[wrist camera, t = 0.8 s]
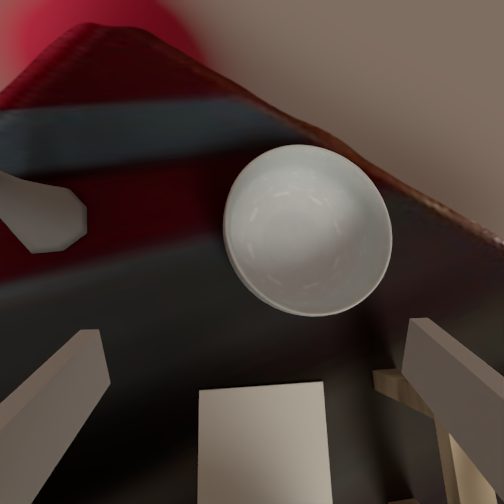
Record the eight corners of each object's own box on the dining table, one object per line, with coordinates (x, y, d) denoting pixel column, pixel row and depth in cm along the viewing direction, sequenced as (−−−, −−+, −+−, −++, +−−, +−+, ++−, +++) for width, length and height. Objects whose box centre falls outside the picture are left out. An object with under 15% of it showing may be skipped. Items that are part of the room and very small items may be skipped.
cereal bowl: (359, 318, 30) (402, 320, 23) (215, 311, 28) (216, 312, 21) (352, 184, 34) (388, 152, 27) (225, 169, 32) (229, 131, 25)
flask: (76, 180, 29) (8, 115, 19) (100, 237, 28) (40, 199, 18) (4, 203, 27) (-110, 145, 18) (27, 265, 26) (-81, 240, 17)
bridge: (396, 368, 30) (476, 394, 21) (417, 521, 26) (521, 628, 18) (372, 370, 29) (442, 397, 20) (390, 525, 26) (483, 638, 17)
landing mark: (333, 525, 25) (334, 527, 25) (196, 548, 23) (196, 550, 23) (322, 381, 28) (322, 381, 28) (199, 390, 26) (199, 390, 26)
